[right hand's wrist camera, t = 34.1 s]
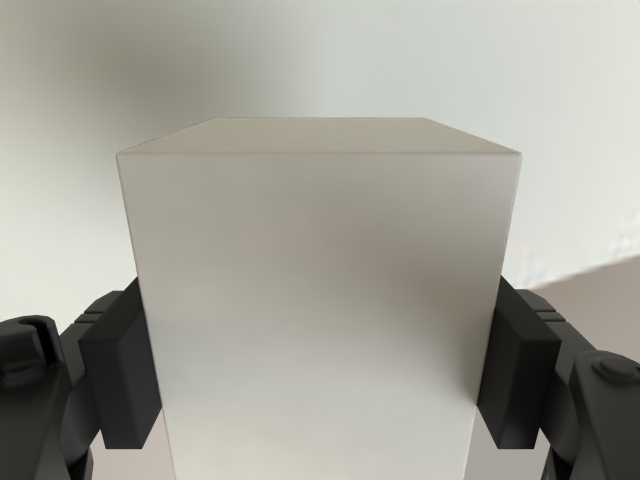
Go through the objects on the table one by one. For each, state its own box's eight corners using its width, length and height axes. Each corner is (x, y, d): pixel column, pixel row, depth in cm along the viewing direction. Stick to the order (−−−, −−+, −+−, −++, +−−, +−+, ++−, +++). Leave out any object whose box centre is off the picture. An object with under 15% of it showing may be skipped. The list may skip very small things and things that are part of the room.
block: (425, 117, 14) (525, 152, 7) (405, 337, 18) (460, 502, 11) (212, 117, 14) (112, 152, 7) (233, 337, 18) (177, 502, 11)
